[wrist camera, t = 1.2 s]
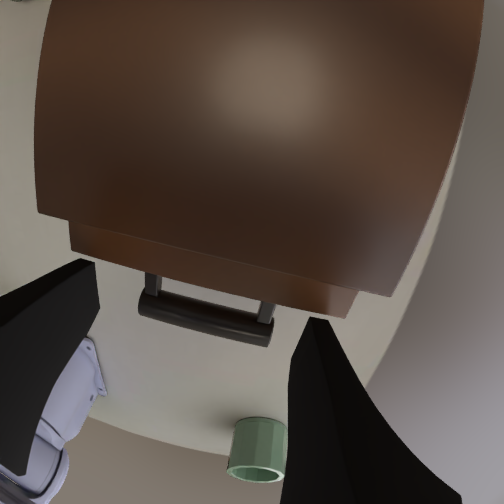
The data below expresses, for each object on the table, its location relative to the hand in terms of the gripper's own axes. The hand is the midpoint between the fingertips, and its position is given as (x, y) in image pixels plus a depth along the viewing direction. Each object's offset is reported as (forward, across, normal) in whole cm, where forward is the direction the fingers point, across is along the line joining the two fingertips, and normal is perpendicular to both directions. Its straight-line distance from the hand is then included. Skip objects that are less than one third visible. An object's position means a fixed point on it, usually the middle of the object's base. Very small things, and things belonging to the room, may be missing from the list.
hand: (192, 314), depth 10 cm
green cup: (+8, -6, +22) cm, 25 cm away
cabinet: (+8, 0, -10) cm, 13 cm away
